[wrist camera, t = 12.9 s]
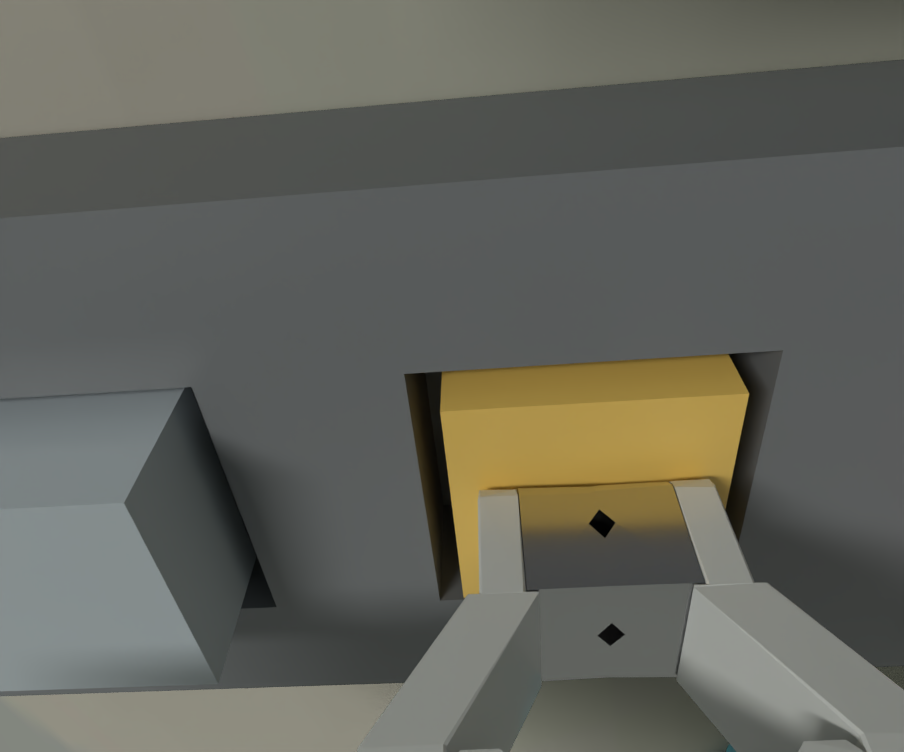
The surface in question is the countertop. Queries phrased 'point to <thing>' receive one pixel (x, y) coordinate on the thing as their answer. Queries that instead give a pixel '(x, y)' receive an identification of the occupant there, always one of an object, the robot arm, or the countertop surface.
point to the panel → (481, 322)
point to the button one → (586, 430)
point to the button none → (115, 543)
